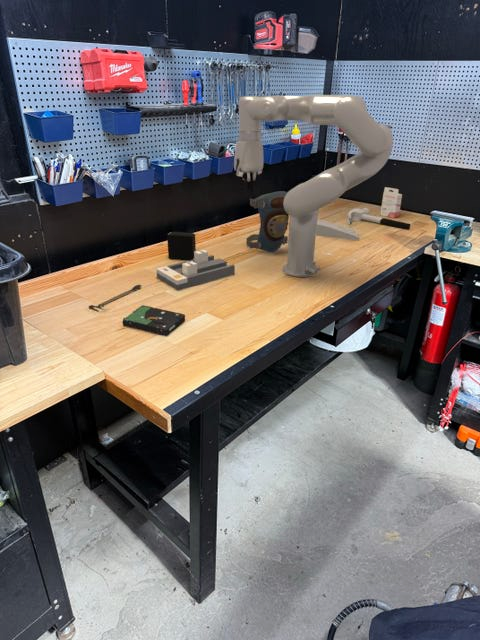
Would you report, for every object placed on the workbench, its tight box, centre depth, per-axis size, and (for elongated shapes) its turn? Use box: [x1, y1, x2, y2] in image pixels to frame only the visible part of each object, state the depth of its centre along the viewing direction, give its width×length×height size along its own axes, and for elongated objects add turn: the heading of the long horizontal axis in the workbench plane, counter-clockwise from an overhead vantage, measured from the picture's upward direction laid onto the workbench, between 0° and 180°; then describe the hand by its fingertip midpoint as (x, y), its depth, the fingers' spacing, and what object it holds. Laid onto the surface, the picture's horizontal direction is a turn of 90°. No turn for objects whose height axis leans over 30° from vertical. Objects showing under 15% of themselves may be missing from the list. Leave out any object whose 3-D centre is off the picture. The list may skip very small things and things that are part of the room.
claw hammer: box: [346, 207, 411, 231], centre depth 225 cm, size 6×22×30 cm
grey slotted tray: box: [156, 254, 236, 291], centre depth 162 cm, size 14×24×4 cm, turn 128°
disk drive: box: [121, 304, 186, 337], centre depth 130 cm, size 10×3×15 cm
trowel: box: [316, 218, 360, 241], centre depth 210 cm, size 28×16×5 cm, turn 45°
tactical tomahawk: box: [88, 284, 142, 313], centre depth 145 cm, size 21×7×1 cm, turn 145°
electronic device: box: [166, 231, 197, 262], centre depth 177 cm, size 4×10×10 cm, turn 79°
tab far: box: [193, 249, 209, 264], centre depth 166 cm, size 3×4×5 cm
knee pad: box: [245, 190, 290, 253], centre depth 185 cm, size 18×20×25 cm
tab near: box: [182, 261, 197, 277], centre depth 155 cm, size 3×4×5 cm
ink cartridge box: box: [380, 186, 403, 219], centre depth 238 cm, size 9×5×15 cm, turn 43°
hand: (249, 191), depth 162 cm, fingers closed
